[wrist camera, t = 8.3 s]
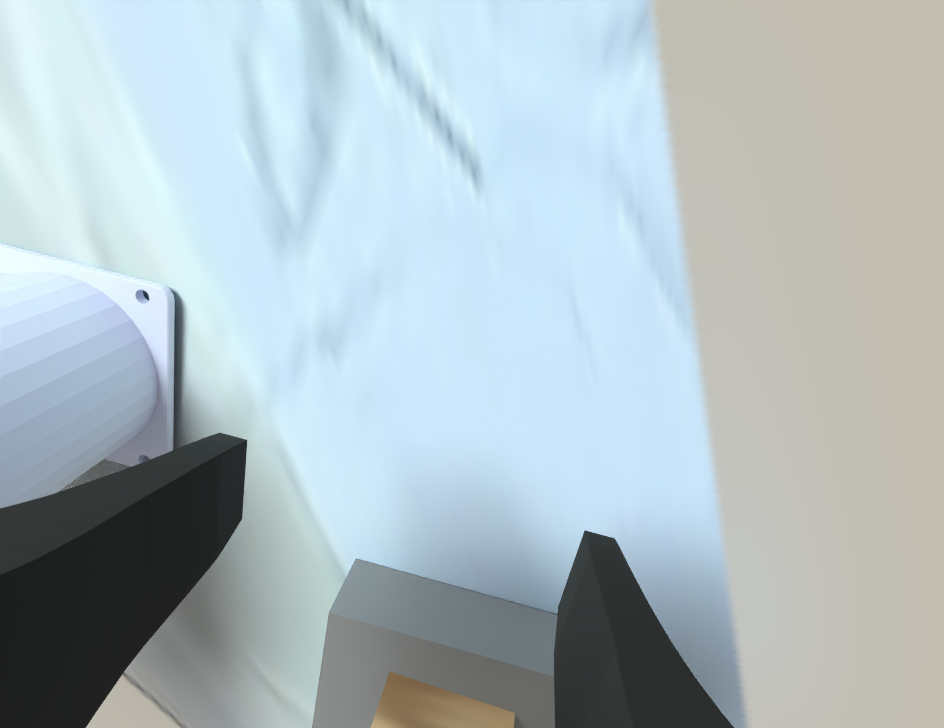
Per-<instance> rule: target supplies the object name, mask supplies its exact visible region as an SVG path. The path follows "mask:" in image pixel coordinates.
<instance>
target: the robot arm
mask: <svg viewBox="0 0 944 728" xmlns="http://www.w3.org/2000/svg"><path fill="white" fill-rule="evenodd" d="M143 290H144V291H146V292H147V293H148V295H149V300H147V299H146V298H145V297H144V295H143ZM174 316H175V300H174V295H173V293H172V292H171V290H170V289H169V288H168V287H167V286H164V285H162V284H159V283H155V282H151V281H147V280H143V279H139V278H135V277H131V276H127V275H123V274H119V273H115V272H111V271H107V270H103V269H99V268H95V267H91V266H87V265H83V264H79V263H75V262H71V261H67V260H64V259H60V258H56V257H52V256H48V255H44V254H40V253H36V252H32V251H28V250H24V249H20V248H16V247H12V246H8V245H4V244H0V728H86V726H87V725H88V723H89V722H90V720H91V719H92V717H93V716H94V714H95V713H96V711H97V710H98V708H99V707H100V705H101V704H102V703H103V701H104V700H105V698H106V697H107V695H108V694H109V693H110V691H111V690H112V688H113V687H114V685H115V684H116V682H117V681H118V679H119V678H120V677H121V675H122V674H123V672H124V671H125V669H126V668H127V667H128V666H129V664H130V663H131V662H132V660H133V659H134V658H135V657H136V655H137V654H138V653H139V651H140V650H141V649H142V648H143V646H144V645H145V644H146V643H147V642H148V640H149V639H150V638H151V637H152V636H153V634H154V633H155V632H156V631H157V630H158V629H159V627H160V626H161V625H162V624H163V623H164V621H165V620H166V619H167V618H168V617H169V615H170V614H171V613H172V612H173V611H174V610H175V608H176V607H177V606H178V605H179V604H180V602H181V601H182V600H183V599H184V598H185V597H186V595H187V594H188V593H189V592H190V591H191V589H192V588H193V587H194V586H195V585H196V583H197V582H198V581H199V580H200V579H201V577H202V576H203V575H204V574H205V572H206V571H207V570H208V569H209V568H210V566H211V565H212V564H213V563H214V561H215V560H216V559H217V557H218V556H219V554H220V553H221V551H222V550H223V548H224V547H225V545H226V544H227V542H228V541H229V539H230V537H231V536H232V534H233V533H234V531H235V529H236V528H237V526H238V524H239V523H240V521H241V520H242V511H243V495H244V480H245V465H246V449H247V440H245V439H241V438H237V437H234V436H230V435H226V434H222V433H218V434H215V435H212V436H209V437H206V438H203V439H201V440H198V441H195V442H193V443H190V444H188V445H185V446H183V447H180V448H178V449H175V450H173V425H174ZM145 456H147V457H148V458H149V459H150V460H147V458H146V457H145ZM103 459H105V460H108V461H112V462H116V463H119V464H123V465H126V466H130V468H127V469H125V470H122V471H119V472H116V473H113V474H110V475H108V476H105V477H102V478H99V479H96V480H93V481H91V482H88V483H85V484H82V485H79V486H76V487H73V488H70V489H67V490H64V491H61V492H59V491H60V490H61V489H63V488H64V487H66V486H67V485H68V484H70V483H71V482H73V481H74V480H75V479H77V478H78V477H80V476H81V475H82V474H84V473H85V472H87V471H88V470H89V469H91V468H92V467H94V466H95V465H96V464H98V463H99V462H101V461H102V460H103ZM57 492H58V493H57ZM554 700H555V728H734V727H733V726H732V725H731V724H730V722H729V721H728V720H727V719H726V717H725V716H724V715H723V714H722V712H721V711H720V710H719V709H718V707H717V706H716V705H715V703H714V702H713V701H712V699H711V698H710V697H709V695H708V694H707V693H706V691H705V690H704V689H703V687H702V686H701V685H700V684H699V682H698V681H697V679H696V678H695V677H694V675H693V674H692V672H691V671H690V670H689V668H688V667H687V665H686V664H685V662H684V661H683V659H682V658H681V656H680V655H679V653H678V651H677V650H676V648H675V647H674V645H673V644H672V642H671V641H670V639H669V637H668V636H667V634H666V632H665V631H664V629H663V627H662V626H661V624H660V622H659V621H658V619H657V617H656V615H655V614H654V612H653V610H652V608H651V607H650V605H649V603H648V601H647V599H646V598H645V596H644V594H643V592H642V590H641V588H640V586H639V585H638V583H637V581H636V579H635V577H634V575H633V573H632V571H631V569H630V567H629V565H628V563H627V561H626V559H625V557H624V555H623V553H622V551H621V549H620V547H619V545H618V544H617V542H616V540H615V538H611V537H607V536H603V535H600V534H596V533H592V532H588V531H584V534H583V537H582V540H581V543H580V546H579V549H578V551H577V554H576V557H575V560H574V563H573V566H572V569H571V572H570V575H569V577H568V580H567V583H566V586H565V589H564V592H563V595H562V598H561V601H560V604H559V606H558V616H557V625H556V635H555V646H554Z"/></svg>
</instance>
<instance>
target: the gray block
mask: <svg viewBox="0 0 944 728" xmlns="http://www.w3.org/2000/svg"><path fill="white" fill-rule="evenodd" d="M557 616H558V615H556V614H553V613H549V612H545V611H542V610H538V609H535V608H531V607H527V606H524V605H520V604H517V603H513V602H509V601H506V600H502V599H499V598H495V597H491V596H488V595H484V594H481V593H477V592H473V591H470V590H466V589H463V588H459V587H455V586H452V585H448V584H445V583H441V582H437V581H434V580H430V579H427V578H423V577H419V576H416V575H412V574H409V573H405V572H401V571H398V570H394V569H391V568H387V567H383V566H380V565H376V564H373V563H369V562H366V561H362V560H358V559H355V561H354V563H353V565H352V567H351V569H350V571H349V573H348V575H347V577H346V579H345V581H344V583H343V585H342V587H341V589H340V591H339V593H338V595H337V597H336V599H335V601H334V603H333V605H332V607H331V609H330V611H329V616H328V623H327V630H326V637H325V644H324V650H323V657H322V664H321V671H320V678H319V685H318V691H317V698H316V705H315V712H314V719H313V725H312V728H371V725H372V722H373V719H374V716H375V713H376V710H377V707H378V704H379V702H380V699H381V696H382V693H383V690H384V687H385V684H386V681H387V678H388V675H389V672H393V673H396V674H399V675H402V676H405V677H408V678H411V679H414V680H417V681H420V682H423V683H426V684H429V685H432V686H435V687H438V688H441V689H444V690H447V691H450V692H453V693H456V694H459V695H462V696H465V697H468V698H471V699H474V700H477V701H480V702H483V703H486V704H489V705H492V706H495V707H498V708H501V709H505V710H508V711H511V712H514V713H515V719H514V728H555V700H554V646H555V635H556V625H557Z"/></svg>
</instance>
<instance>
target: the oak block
mask: <svg viewBox="0 0 944 728" xmlns="http://www.w3.org/2000/svg"><path fill="white" fill-rule="evenodd" d="M514 719H515V713H514V712H511V711H508V710H505V709H501V708H498V707H495V706H492V705H489V704H486V703H483V702H480V701H477V700H474V699H471V698H468V697H465V696H462V695H459V694H456V693H453V692H450V691H447V690H444V689H441V688H438V687H435V686H432V685H429V684H426V683H423V682H420V681H417V680H414V679H411V678H408V677H405V676H402V675H399V674H396V673H393V672H389V675H388V678H387V681H386V684H385V687H384V690H383V693H382V696H381V699H380V702H379V704H378V707H377V710H376V713H375V716H374V719H373V722H372V725H371V728H514Z"/></svg>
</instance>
